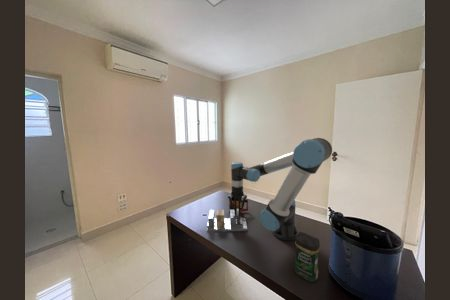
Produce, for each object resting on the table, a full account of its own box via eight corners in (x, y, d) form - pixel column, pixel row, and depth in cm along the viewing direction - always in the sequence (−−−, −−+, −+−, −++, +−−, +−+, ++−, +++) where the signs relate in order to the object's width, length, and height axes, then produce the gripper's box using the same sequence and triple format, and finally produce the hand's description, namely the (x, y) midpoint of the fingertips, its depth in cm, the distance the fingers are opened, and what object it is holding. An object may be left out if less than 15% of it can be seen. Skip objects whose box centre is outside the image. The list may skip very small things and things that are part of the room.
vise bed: (245, 219, 124) (245, 208, 122) (247, 230, 111) (247, 218, 110) (209, 220, 124) (208, 209, 123) (207, 231, 111) (206, 219, 110)
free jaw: (241, 218, 123) (241, 207, 121) (243, 228, 111) (242, 216, 110) (230, 218, 123) (230, 208, 122) (230, 228, 111) (230, 216, 110)
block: (224, 220, 121) (224, 209, 120) (224, 226, 114) (223, 215, 113) (217, 220, 121) (216, 210, 120) (216, 226, 114) (216, 215, 113)
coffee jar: (291, 273, 79) (292, 235, 76) (298, 262, 84) (299, 227, 82) (314, 286, 72) (316, 246, 69) (320, 274, 78) (322, 236, 75)
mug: (248, 212, 135) (248, 197, 133) (234, 218, 127) (234, 202, 125) (240, 207, 142) (240, 193, 141) (227, 212, 134) (226, 198, 133)
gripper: (246, 183, 117) (246, 215, 121) (227, 183, 117) (228, 215, 121) (247, 187, 110) (247, 221, 113) (227, 187, 110) (227, 221, 114)
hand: (237, 218), depth 117 cm, fingers closed
